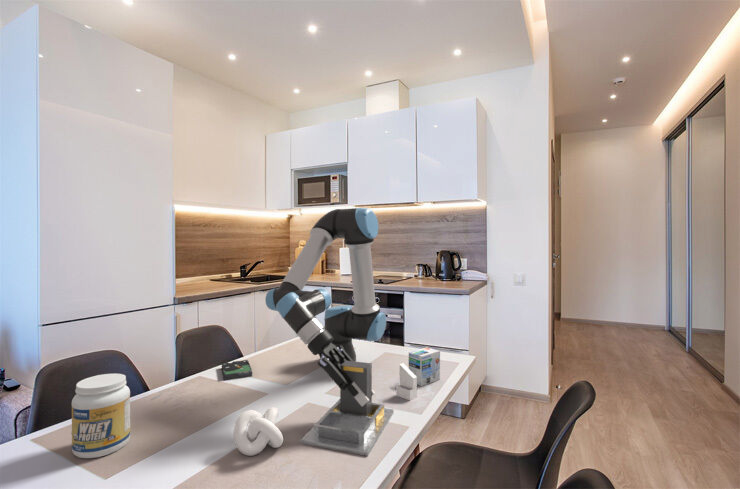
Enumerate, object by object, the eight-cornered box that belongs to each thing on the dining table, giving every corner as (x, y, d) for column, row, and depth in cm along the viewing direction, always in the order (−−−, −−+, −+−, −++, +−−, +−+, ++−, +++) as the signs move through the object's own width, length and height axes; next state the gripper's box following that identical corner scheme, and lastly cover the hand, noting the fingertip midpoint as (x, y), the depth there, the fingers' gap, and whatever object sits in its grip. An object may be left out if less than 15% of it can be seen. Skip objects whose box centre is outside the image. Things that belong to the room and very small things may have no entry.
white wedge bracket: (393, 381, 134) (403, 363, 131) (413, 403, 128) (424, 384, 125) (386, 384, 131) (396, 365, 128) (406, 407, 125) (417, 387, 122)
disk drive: (221, 369, 155) (223, 381, 142) (221, 363, 155) (223, 374, 142) (247, 366, 160) (253, 377, 146) (247, 359, 160) (252, 370, 146)
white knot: (246, 434, 103) (245, 401, 103) (290, 434, 103) (290, 401, 103) (229, 458, 92) (229, 421, 92) (279, 459, 91) (279, 421, 91)
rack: (338, 404, 121) (338, 393, 121) (393, 412, 115) (393, 401, 115) (301, 443, 98) (301, 430, 98) (367, 456, 93) (367, 441, 93)
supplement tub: (64, 465, 89) (63, 393, 89) (80, 440, 100) (79, 375, 100) (126, 453, 94) (125, 385, 94) (134, 430, 105) (133, 369, 105)
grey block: (346, 407, 114) (346, 360, 114) (371, 411, 112) (371, 363, 111) (340, 413, 110) (340, 365, 110) (366, 418, 107) (366, 368, 107)
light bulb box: (421, 386, 136) (421, 356, 135) (407, 381, 141) (407, 352, 140) (440, 379, 143) (440, 350, 142) (426, 374, 148) (426, 346, 147)
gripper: (320, 338, 124) (369, 395, 119) (293, 353, 107) (348, 421, 102) (336, 322, 122) (386, 380, 117) (310, 336, 105) (367, 404, 100)
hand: (368, 399), depth 109 cm, fingers closed on grey block, 4 cm apart
